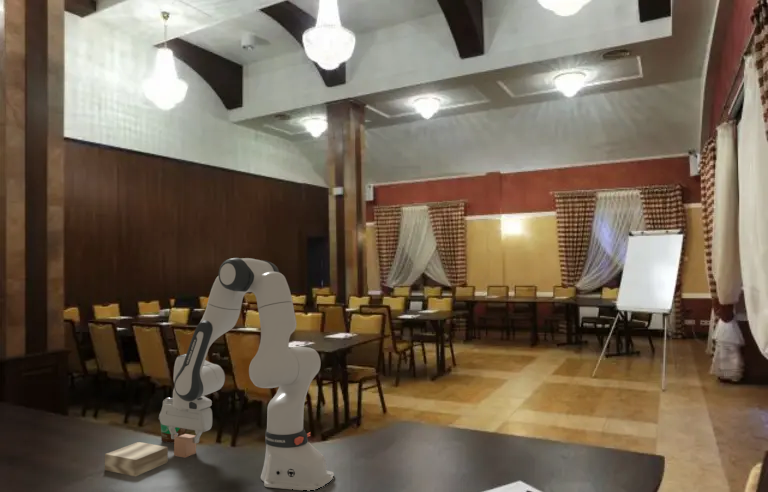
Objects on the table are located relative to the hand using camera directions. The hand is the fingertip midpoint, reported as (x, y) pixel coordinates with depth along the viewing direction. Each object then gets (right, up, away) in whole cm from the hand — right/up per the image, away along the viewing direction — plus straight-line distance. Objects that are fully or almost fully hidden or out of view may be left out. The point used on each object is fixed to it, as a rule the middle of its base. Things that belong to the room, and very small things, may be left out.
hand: (185, 440), depth 184 cm
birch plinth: (-11, -4, -12) cm, 17 cm away
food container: (-11, -5, +14) cm, 19 cm away
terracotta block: (0, -5, -1) cm, 5 cm away
